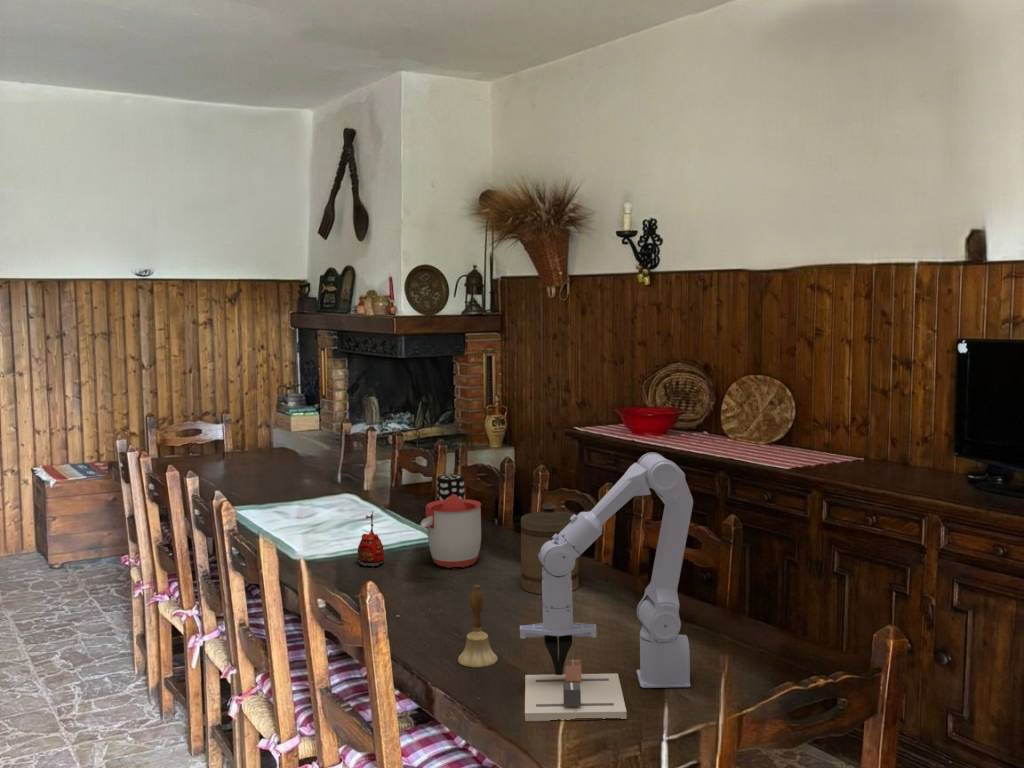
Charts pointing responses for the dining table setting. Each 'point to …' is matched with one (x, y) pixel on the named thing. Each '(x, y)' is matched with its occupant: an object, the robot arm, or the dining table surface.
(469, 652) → the hand bell
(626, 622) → the dining table surface
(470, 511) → the citrus juicer
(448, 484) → the spotted tube
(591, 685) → the console
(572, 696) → the fader charcoal
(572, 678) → the fader terracotta
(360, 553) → the red clay folk toy
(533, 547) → the wooden container
